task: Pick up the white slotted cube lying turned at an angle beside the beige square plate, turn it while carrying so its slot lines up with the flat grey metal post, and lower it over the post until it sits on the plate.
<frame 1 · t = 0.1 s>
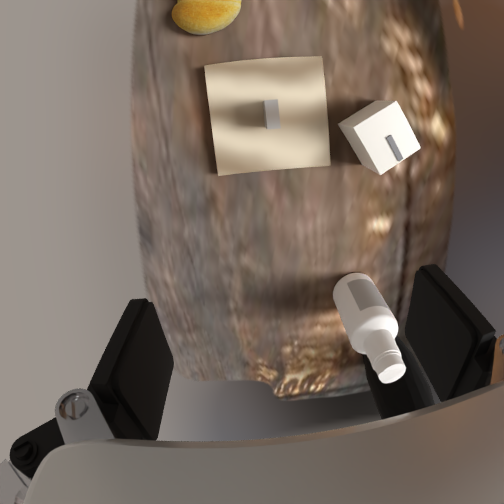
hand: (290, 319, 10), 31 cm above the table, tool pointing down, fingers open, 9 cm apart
bread roll: (207, 5, 29), on the table
white plastic bottle: (352, 289, 47), on the table
portable speaker: (380, 346, 53), on the table
white slotted cube: (369, 132, 37), on the table
beige square plate: (268, 113, 36), on the table
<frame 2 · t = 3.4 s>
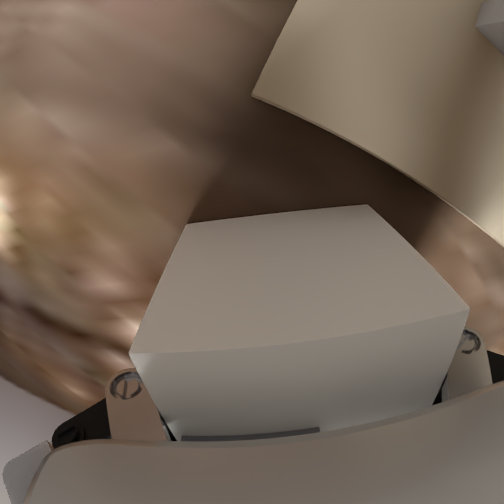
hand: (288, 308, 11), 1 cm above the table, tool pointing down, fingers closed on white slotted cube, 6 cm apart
white slotted cube: (285, 291, 12), on the table, touching gripper
beige square plate: (483, 44, 7), on the table
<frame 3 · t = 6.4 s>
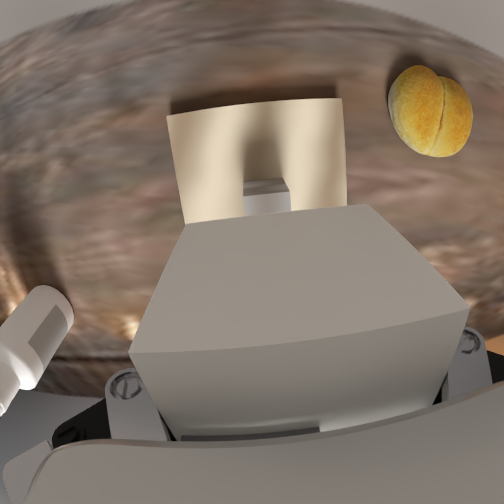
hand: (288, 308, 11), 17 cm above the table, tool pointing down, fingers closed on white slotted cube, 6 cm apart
bread roll: (425, 110, 24), on the table
white plastic bottle: (53, 306, 32), on the table
white slotted cube: (285, 291, 12), point 16 cm above the table, touching gripper
beige square plate: (262, 183, 27), on the table
when the fingers open (4 cm above the table, at t = 9.3 s): white slotted cube stays where it is, resting on beige square plate.
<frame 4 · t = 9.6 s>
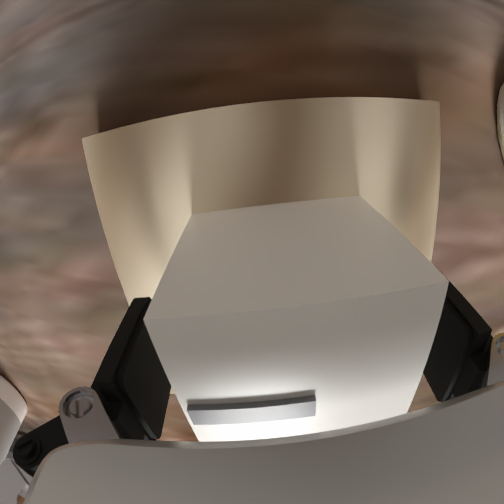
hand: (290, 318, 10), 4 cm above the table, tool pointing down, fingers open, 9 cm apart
white plastic bottle: (2, 387, 20), on the table
white slotted cube: (283, 278, 13), point 1 cm above the table, touching beige square plate
beige square plate: (279, 261, 14), on the table
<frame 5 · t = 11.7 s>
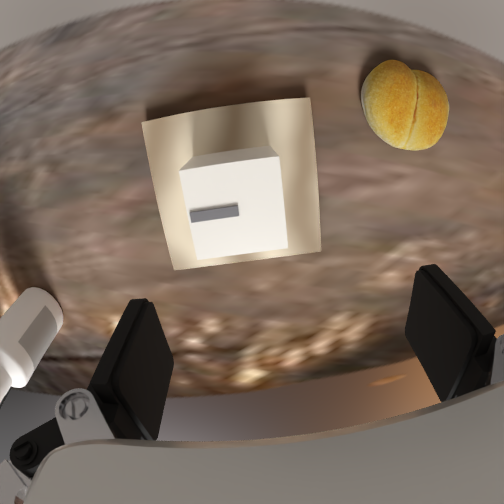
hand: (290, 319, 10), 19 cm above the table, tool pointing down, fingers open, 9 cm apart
bread roll: (400, 104, 25), on the table
white plastic bottle: (43, 307, 33), on the table
white slotted cube: (236, 187, 26), point 1 cm above the table, touching beige square plate
beige square plate: (236, 183, 27), on the table
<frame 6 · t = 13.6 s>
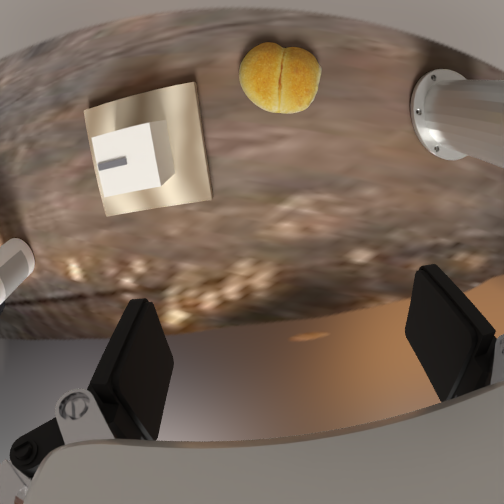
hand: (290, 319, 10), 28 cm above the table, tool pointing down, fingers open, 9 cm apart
bread roll: (280, 78, 32), on the table
white plastic bottle: (21, 255, 41), on the table
white slotted cube: (144, 151, 33), point 1 cm above the table, touching beige square plate
beige square plate: (147, 150, 35), on the table
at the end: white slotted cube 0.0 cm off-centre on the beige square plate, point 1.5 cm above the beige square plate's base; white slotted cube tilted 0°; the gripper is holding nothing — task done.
